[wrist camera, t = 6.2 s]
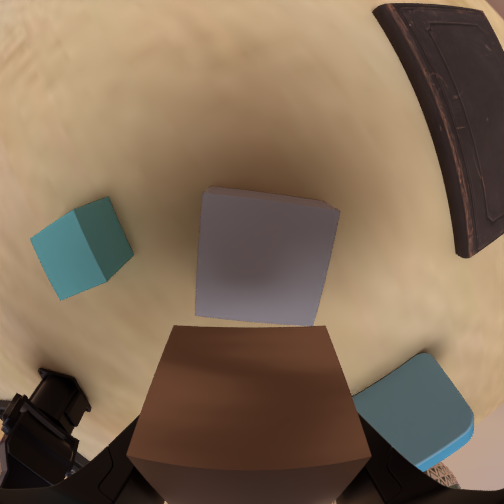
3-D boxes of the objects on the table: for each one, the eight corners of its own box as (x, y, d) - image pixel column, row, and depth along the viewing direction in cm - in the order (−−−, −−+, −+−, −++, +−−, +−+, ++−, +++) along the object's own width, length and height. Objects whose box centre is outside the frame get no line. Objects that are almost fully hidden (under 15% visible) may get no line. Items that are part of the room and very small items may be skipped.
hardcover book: (470, 15, 12) (482, 10, 10) (527, 199, 19) (539, 203, 17) (368, 14, 14) (379, 3, 12) (452, 252, 21) (466, 260, 19)
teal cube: (90, 273, 21) (60, 300, 16) (66, 221, 19) (29, 238, 14) (134, 254, 20) (106, 281, 15) (108, 196, 19) (73, 209, 14)
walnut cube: (193, 413, 10) (176, 511, 6) (173, 325, 9) (126, 455, 4) (306, 413, 10) (323, 511, 6) (325, 325, 9) (371, 456, 4)
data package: (350, 418, 28) (376, 496, 16) (336, 405, 27) (362, 492, 15) (432, 365, 26) (478, 434, 14) (425, 346, 24) (479, 421, 13)
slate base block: (203, 288, 21) (195, 315, 18) (211, 185, 19) (202, 192, 15) (302, 298, 22) (312, 326, 18) (322, 200, 19) (340, 211, 16)
